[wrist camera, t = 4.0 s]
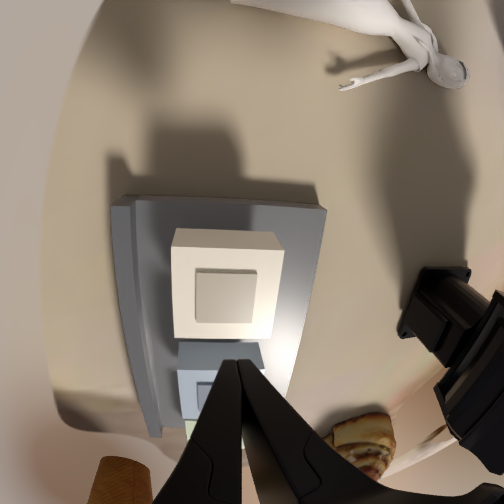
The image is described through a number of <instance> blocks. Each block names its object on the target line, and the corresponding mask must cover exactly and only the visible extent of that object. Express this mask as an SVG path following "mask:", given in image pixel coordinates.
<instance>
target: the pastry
mask: <svg viewBox="0 0 504 504" xmlns="http://www.w3.org/2000/svg"><path fill="white" fill-rule="evenodd" d="M322 439H323V440H324V441H325V442H326V443H327V444H328V445H329V446H330V447H332V448H333V449H334V450H335V451H336V452H337V453H339V454H340V455H341V456H342V457H344V458H345V459H346V460H347V461H349V462H350V463H351V464H353V465H354V466H355V467H357V468H358V469H360V470H361V471H362V472H364V473H365V474H366V475H368V476H369V477H371V478H372V479H373V480H375V481H377V480H378V479H381V476H382V475H383V473H384V471H385V470H386V469H387V468H388V467H389V464H390V463H391V461H392V460H393V456H394V453H395V449H396V441H395V438H394V432H393V427H392V423H391V419H390V417H389V416H388V415H386V414H382V413H378V412H377V413H368V414H364V415H361V416H359V417H355V418H351V419H349V420H346V421H343V422H340V423H337V424H336V425H334V427H333V432H332V433H331V434H329V435H327V436H326V437H324V438H322Z"/></svg>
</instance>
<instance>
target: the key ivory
mask: <svg viewBox="0 0 504 504" xmlns="http://www.w3.org/2000/svg"><path fill="white" fill-rule="evenodd" d="M284 251H285V250H284V249H283V247H282V246H281V244H280V242H279V241H278V239H277V237H276V236H275V234H274V233H273V232H263V231H241V230H216V229H189V228H176V231H175V235H174V238H173V242H172V245H171V274H172V303H173V322H174V338H201V339H257V338H271V333H272V327H273V321H274V315H275V309H276V303H277V297H278V290H279V284H280V278H281V271H282V265H283V258H284Z"/></svg>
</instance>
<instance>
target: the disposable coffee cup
mask: <svg viewBox="0 0 504 504" xmlns="http://www.w3.org/2000/svg"><path fill="white" fill-rule="evenodd" d="M152 502H153V496H152V488H151V479H150V470H149V469H148V468H147V467H146V466H145V465H143V464H141V463H139V462H137V461H134V460H131V459H128V458H123V457H117V456H106V457H103V458H102V459H101V461H100V464H99V467H98V470H97V473H96V476H95V480H94V483H93V486H92V489H91V493H90V496H89V499H88V503H87V504H151V503H152Z"/></svg>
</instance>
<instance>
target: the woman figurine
mask: <svg viewBox="0 0 504 504" xmlns="http://www.w3.org/2000/svg"><path fill="white" fill-rule="evenodd" d="M401 1H402V3H403V6H404V8H405V10H406V12H407V14H408V16H409V19H410V21H411V22H410V21H407V20H405V19H403V18H401V17H400V16H399V15H398V13H397V12H396V11H395V9H394V8H393V7H392V5H391V4H390V3H389V1H388V0H230V3H234V4H240V5H246V6H251V7H257V8H262V9H266V10H271V11H275V12H280V13H284V14H288V15H292V16H297V17H302V18H306V19H311V20H315V21H319V22H323V23H327V24H331V25H335V26H338V27H342V28H345V29H348V30H352V31H355V32H358V33H363V34H368V35H385V36H391V37H392V38H393V40H394V41H395V42H396V43H397V44H398V45H399V47H400V48H401V50H402V52H403V53H404V55H405V56H406V58H407V60H406V61H404V62H402V63H398V64H394V65H390V66H388V67H385V68H383V69H381V70H379V72H376V73H373V74H371V75H368V76H365V77H363V78H360V77H356V78H350V79H349V80H350V81H353V80H354V81H353V82H351V83H350V84H348V85H345V86H342V85H339V86H341V87H342V88H339V91H343V90H349V89H352V88H355V87H357V86H360V85H363V84H365V83H368V82H372V81H375V80H378V79H382V78H386V77H392V76H395V75H398V74H401V73H404V72H407V71H415V72H419V71H420V70H422V69H423V68H424V67H425V66H426V65H427V64H428V63H429V65H428V67H427V74H428V77H429V79H430V80H431V81H432V82H434V83H435V84H437V85H439V86H441V87H444V88H448V89H460V88H462V87H463V85H464V83H466V82H467V80H468V79H469V77H470V75H469V72H468V69H467V67H466V66H465V65H464V63H463V62H461V61H458V60H456V59H455V58H454V57H453V56H450V55H443V54H441V53H438V52H439V50H438V44H437V39H436V36H435V35H434V34H433V33H432V31H431V28H430V27H428V26H427V25H425V24H423V23H422V22H421V20H420V19H419V17H418V15H417V13H416V11H415V9H414V7H413V5H412V3H411V1H410V0H401ZM425 29H426V30H425ZM430 33H431V34H432V38H433V43H432V41H431V34H430ZM466 76H467V77H466Z"/></svg>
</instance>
